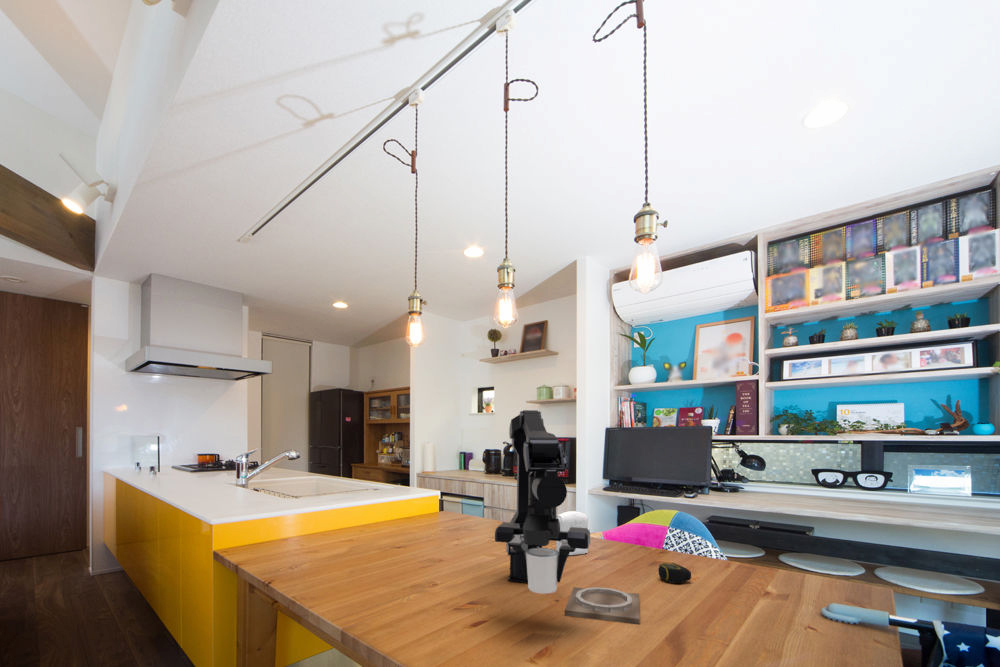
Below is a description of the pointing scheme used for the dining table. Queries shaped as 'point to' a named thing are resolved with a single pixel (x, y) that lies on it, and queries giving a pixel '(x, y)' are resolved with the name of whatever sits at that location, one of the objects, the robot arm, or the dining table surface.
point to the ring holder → (604, 605)
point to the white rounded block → (569, 521)
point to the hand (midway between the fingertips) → (542, 580)
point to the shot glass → (542, 569)
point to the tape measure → (673, 573)
